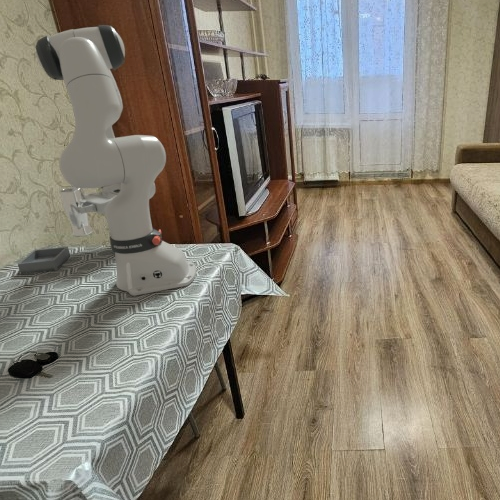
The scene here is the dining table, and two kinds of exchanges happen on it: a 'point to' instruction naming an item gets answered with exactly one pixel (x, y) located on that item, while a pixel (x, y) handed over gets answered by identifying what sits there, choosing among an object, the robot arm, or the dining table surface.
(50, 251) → the box
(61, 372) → the dining table surface
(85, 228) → the silver tall rounded piece
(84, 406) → the dining table surface
